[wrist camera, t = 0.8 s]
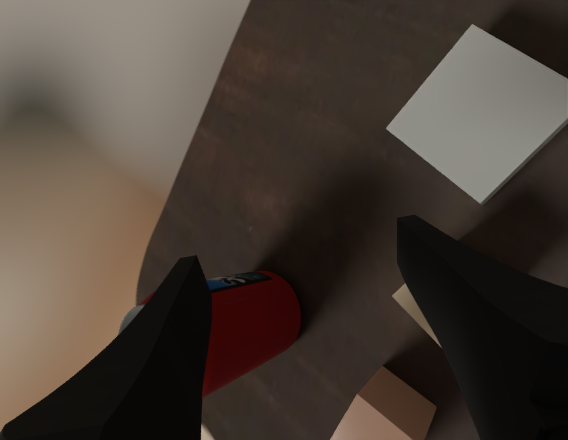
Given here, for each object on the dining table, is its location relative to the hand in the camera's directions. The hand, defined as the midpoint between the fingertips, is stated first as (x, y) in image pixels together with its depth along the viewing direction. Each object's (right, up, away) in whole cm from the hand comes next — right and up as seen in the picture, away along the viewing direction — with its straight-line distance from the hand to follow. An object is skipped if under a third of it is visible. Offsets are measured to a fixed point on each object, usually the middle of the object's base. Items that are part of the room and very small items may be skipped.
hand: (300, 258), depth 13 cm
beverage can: (-2, -6, +17) cm, 18 cm away
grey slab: (+11, +7, +9) cm, 17 cm away
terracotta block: (+7, -11, +12) cm, 18 cm away
